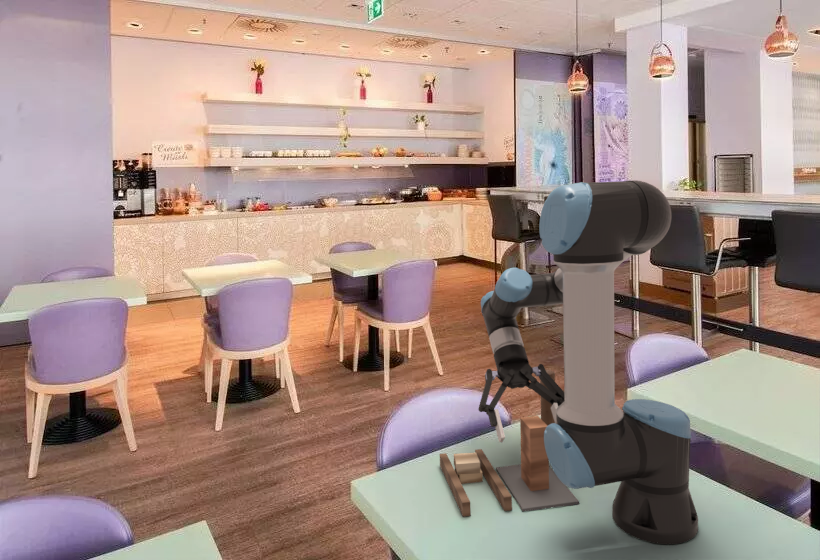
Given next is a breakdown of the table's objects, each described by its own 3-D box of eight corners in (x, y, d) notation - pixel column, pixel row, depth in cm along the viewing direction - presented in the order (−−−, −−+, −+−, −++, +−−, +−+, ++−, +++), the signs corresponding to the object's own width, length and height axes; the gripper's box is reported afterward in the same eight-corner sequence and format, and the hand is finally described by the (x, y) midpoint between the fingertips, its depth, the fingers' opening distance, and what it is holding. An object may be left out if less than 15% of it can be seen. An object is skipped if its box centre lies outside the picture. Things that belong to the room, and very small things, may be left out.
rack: (512, 510, 119) (511, 496, 118) (462, 516, 117) (462, 502, 117) (481, 460, 140) (481, 449, 140) (440, 465, 139) (439, 453, 138)
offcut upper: (480, 473, 130) (480, 462, 130) (456, 474, 130) (456, 464, 129) (476, 462, 135) (476, 452, 134) (453, 464, 135) (453, 453, 134)
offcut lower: (482, 482, 131) (482, 472, 130) (459, 485, 130) (459, 475, 130) (477, 472, 135) (476, 462, 135) (455, 474, 135) (454, 464, 134)
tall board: (548, 488, 125) (548, 426, 123) (530, 491, 124) (530, 428, 122) (538, 475, 131) (537, 415, 129) (521, 477, 130) (520, 417, 128)
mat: (579, 504, 120) (579, 501, 120) (522, 511, 118) (522, 508, 118) (545, 463, 137) (545, 461, 137) (495, 469, 135) (495, 467, 135)
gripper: (554, 353, 144) (581, 436, 132) (455, 363, 140) (473, 449, 128) (563, 338, 138) (592, 423, 126) (459, 347, 134) (479, 436, 122)
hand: (532, 436), depth 127 cm, fingers open, 13 cm apart
